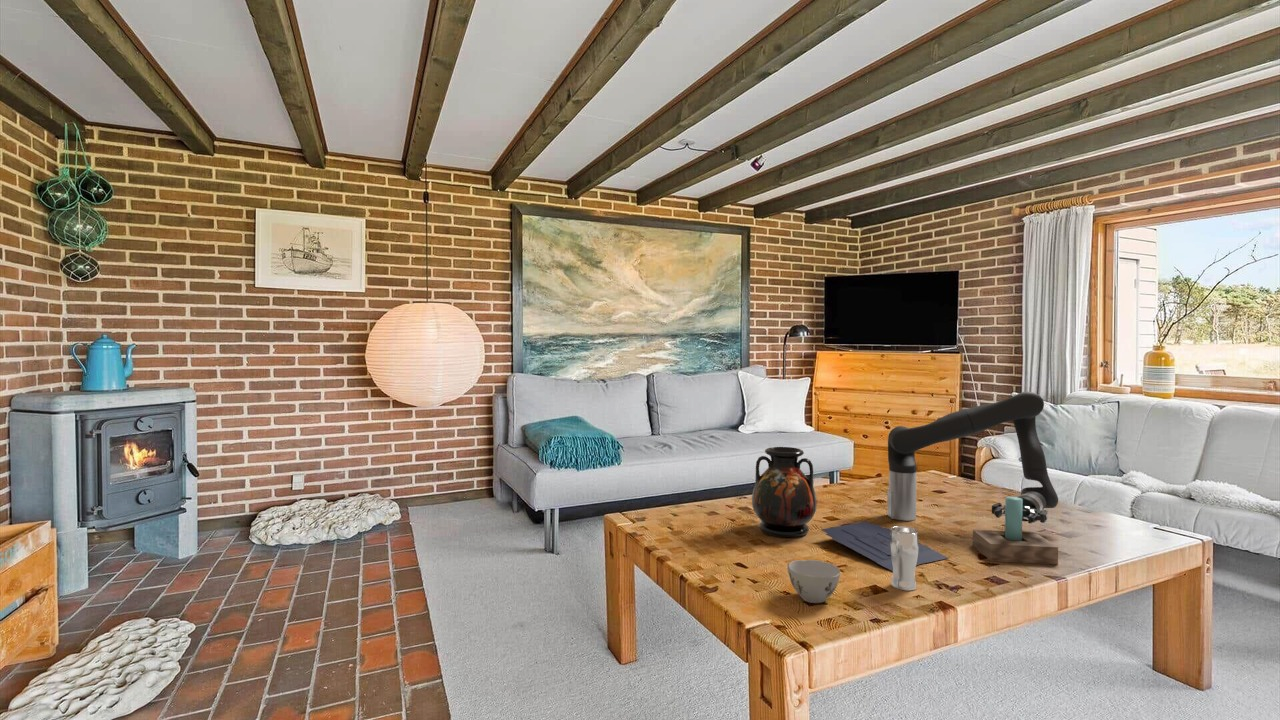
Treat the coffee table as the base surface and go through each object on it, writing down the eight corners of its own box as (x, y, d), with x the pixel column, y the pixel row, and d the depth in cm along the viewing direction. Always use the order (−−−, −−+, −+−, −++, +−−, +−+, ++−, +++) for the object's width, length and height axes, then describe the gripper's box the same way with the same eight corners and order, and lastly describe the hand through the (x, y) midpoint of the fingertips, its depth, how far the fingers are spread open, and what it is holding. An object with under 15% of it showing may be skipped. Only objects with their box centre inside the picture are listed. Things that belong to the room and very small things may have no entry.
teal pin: (1008, 553, 182) (1009, 500, 181) (1002, 548, 186) (1002, 496, 186) (1024, 553, 181) (1025, 500, 181) (1017, 548, 185) (1018, 497, 185)
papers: (868, 527, 207) (869, 517, 206) (948, 566, 180) (950, 554, 180) (815, 538, 195) (816, 527, 195) (892, 581, 169) (893, 569, 169)
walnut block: (990, 560, 178) (990, 543, 178) (972, 545, 192) (972, 529, 192) (1057, 564, 175) (1058, 547, 175) (1034, 548, 189) (1035, 532, 189)
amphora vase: (747, 538, 199) (748, 453, 199) (755, 519, 220) (755, 443, 219) (816, 544, 193) (816, 456, 192) (817, 525, 214) (817, 446, 213)
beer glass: (910, 580, 163) (910, 525, 163) (923, 591, 156) (923, 533, 156) (884, 581, 163) (885, 525, 162) (896, 591, 156) (897, 533, 155)
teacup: (851, 602, 150) (851, 570, 149) (815, 614, 143) (815, 580, 143) (805, 581, 162) (805, 552, 162) (770, 591, 156) (770, 561, 156)
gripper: (1001, 491, 199) (987, 500, 188) (1053, 499, 189) (1041, 509, 178) (1001, 514, 199) (986, 524, 188) (1053, 523, 189) (1040, 534, 178)
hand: (1013, 517), depth 183 cm, fingers open, 8 cm apart
